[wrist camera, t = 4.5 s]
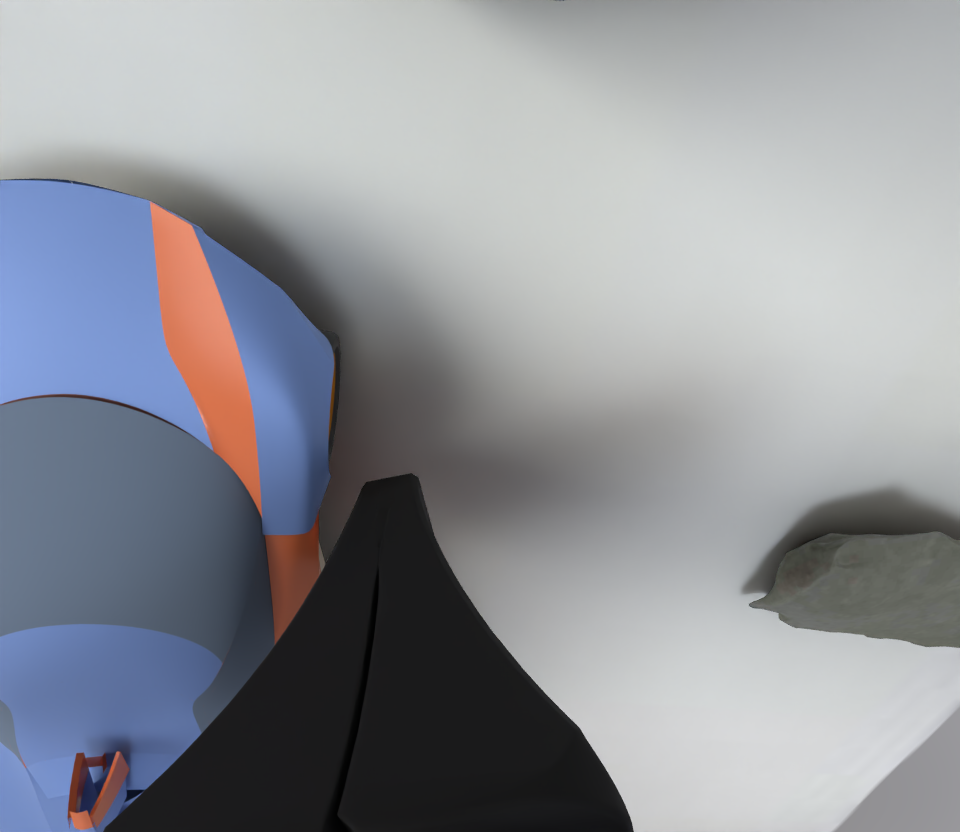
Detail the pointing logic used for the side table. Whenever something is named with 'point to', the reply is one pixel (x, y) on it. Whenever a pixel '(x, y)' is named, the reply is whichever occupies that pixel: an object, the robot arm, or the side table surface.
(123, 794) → the toy car
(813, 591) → the stone
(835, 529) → the side table surface
